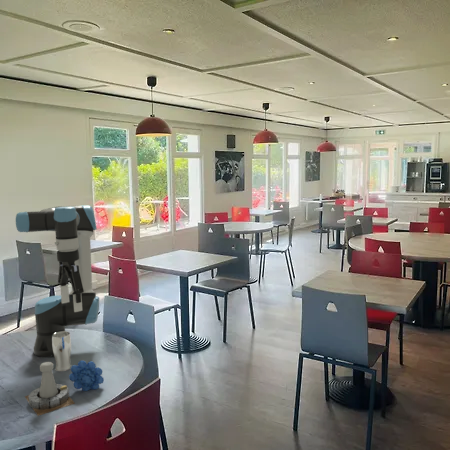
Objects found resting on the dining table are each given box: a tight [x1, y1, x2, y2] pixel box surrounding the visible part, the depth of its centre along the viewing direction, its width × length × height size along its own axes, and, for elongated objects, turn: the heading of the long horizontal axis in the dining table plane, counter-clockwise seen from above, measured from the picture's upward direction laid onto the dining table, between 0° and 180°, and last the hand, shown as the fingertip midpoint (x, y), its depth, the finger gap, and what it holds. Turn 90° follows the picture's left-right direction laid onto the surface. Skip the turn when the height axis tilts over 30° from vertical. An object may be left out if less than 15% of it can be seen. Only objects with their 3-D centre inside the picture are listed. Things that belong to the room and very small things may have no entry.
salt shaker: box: [39, 361, 58, 399], centre depth 155 cm, size 6×6×13 cm
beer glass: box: [52, 330, 72, 372], centre depth 179 cm, size 7×7×15 cm
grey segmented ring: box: [27, 383, 70, 410], centre depth 155 cm, size 12×12×3 cm
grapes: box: [68, 359, 105, 392], centre depth 161 cm, size 12×7×12 cm, turn 106°
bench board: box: [24, 394, 76, 417], centre depth 156 cm, size 16×12×1 cm
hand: (71, 306), depth 168 cm, fingers open, 13 cm apart
